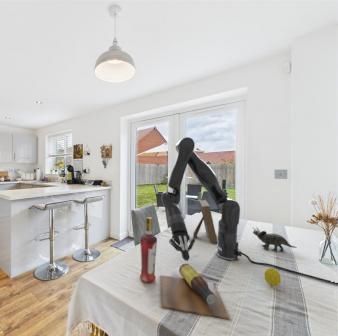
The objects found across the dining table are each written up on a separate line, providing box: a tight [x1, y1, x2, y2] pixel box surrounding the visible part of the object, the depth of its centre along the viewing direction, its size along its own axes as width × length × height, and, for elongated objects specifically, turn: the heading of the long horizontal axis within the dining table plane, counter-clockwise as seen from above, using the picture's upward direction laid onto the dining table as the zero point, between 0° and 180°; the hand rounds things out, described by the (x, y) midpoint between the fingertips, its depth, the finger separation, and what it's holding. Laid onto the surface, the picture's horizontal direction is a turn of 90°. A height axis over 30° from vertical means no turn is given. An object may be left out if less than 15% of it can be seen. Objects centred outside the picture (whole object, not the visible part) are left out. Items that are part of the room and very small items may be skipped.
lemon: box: [263, 267, 282, 287], centre depth 85 cm, size 6×6×8 cm
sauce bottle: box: [178, 263, 217, 305], centre depth 80 cm, size 6×6×20 cm
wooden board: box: [160, 275, 230, 320], centre depth 78 cm, size 22×20×1 cm
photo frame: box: [192, 199, 218, 244], centre depth 141 cm, size 15×22×25 cm
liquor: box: [139, 216, 158, 284], centre depth 87 cm, size 7×7×28 cm
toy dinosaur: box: [252, 226, 298, 252], centre depth 122 cm, size 22×8×11 cm, turn 47°
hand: (186, 259), depth 89 cm, fingers closed
